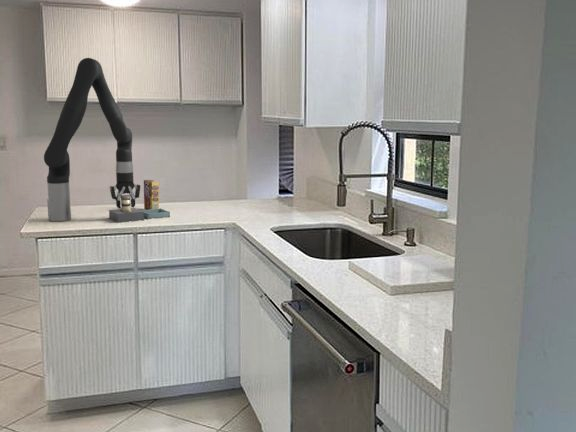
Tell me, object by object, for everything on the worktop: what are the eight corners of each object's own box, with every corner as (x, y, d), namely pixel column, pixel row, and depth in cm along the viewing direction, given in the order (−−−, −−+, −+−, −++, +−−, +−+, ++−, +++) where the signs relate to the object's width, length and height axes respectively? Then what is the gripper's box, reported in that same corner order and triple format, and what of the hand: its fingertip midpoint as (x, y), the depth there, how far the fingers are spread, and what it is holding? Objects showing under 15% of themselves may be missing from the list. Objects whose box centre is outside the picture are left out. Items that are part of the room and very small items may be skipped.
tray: (147, 219, 274) (147, 213, 274) (139, 215, 283) (138, 210, 283) (169, 217, 281) (169, 211, 280) (160, 213, 289) (160, 208, 289)
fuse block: (117, 222, 265) (117, 211, 264) (109, 218, 275) (109, 207, 274) (143, 220, 272) (143, 209, 271) (134, 216, 282) (134, 205, 281)
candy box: (159, 211, 296) (159, 181, 293) (151, 212, 293) (151, 181, 290) (151, 208, 302) (150, 179, 300) (143, 209, 300) (142, 179, 297)
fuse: (123, 220, 270) (122, 196, 269) (120, 219, 274) (119, 195, 272) (132, 219, 273) (131, 196, 271) (129, 218, 276) (128, 194, 274)
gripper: (111, 172, 262) (113, 210, 265) (142, 171, 270) (143, 207, 273) (106, 171, 268) (107, 207, 271) (136, 169, 276) (138, 205, 279)
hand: (126, 207), depth 272 cm, fingers open, 5 cm apart
